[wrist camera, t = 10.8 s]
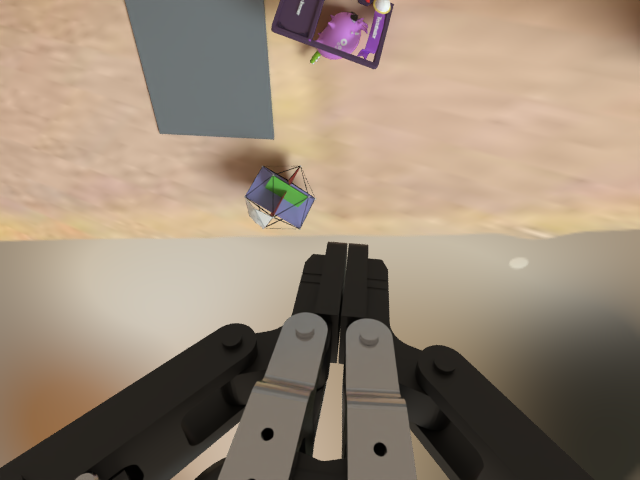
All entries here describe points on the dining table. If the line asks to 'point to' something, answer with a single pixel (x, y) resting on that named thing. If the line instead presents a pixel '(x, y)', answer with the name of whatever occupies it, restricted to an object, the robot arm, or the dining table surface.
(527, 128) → the dining table surface
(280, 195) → the geometric puzzle
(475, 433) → the robot arm
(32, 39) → the dining table surface
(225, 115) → the mat
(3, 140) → the dining table surface
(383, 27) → the game card
